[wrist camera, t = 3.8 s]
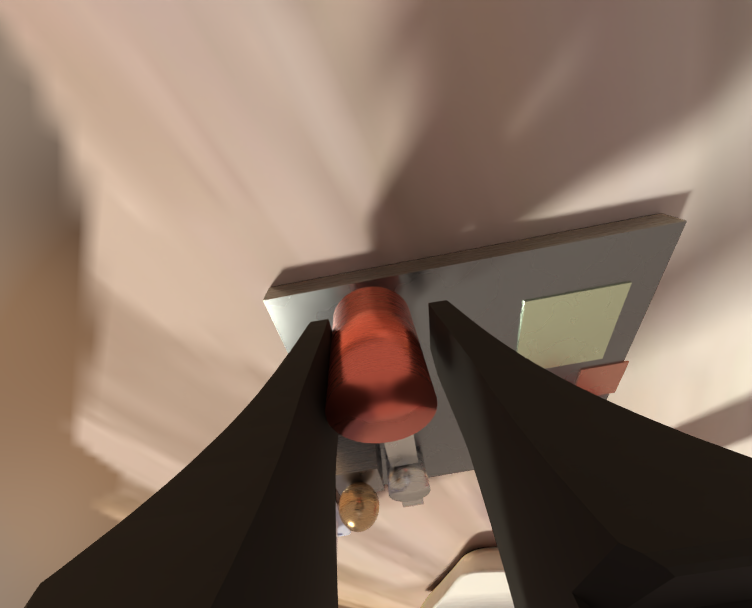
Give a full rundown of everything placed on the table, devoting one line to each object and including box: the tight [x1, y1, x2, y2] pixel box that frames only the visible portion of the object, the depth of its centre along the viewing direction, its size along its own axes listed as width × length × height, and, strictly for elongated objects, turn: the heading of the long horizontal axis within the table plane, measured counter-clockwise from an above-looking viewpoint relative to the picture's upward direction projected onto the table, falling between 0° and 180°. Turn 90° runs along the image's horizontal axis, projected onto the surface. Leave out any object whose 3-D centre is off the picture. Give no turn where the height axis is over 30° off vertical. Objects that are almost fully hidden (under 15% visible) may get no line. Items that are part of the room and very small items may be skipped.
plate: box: [263, 213, 687, 532], centre depth 14 cm, size 16×16×5 cm
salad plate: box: [421, 547, 514, 608], centre depth 35 cm, size 21×21×3 cm
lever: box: [325, 287, 437, 507], centre depth 13 cm, size 17×3×5 cm, turn 10°
